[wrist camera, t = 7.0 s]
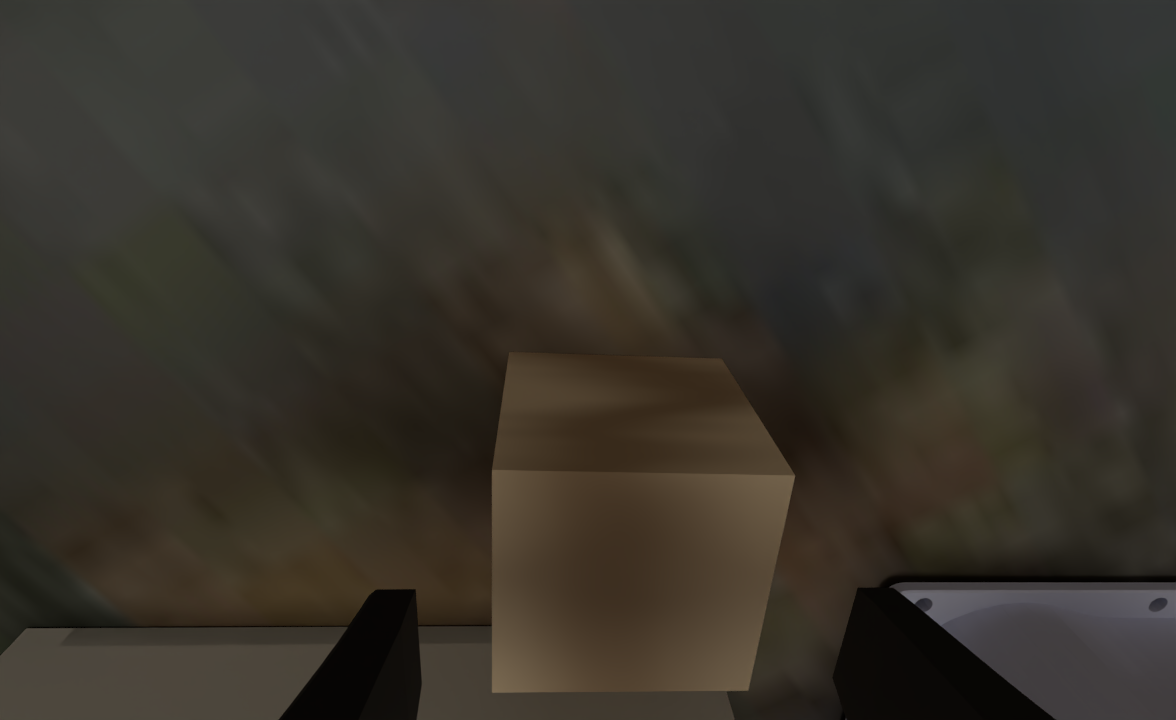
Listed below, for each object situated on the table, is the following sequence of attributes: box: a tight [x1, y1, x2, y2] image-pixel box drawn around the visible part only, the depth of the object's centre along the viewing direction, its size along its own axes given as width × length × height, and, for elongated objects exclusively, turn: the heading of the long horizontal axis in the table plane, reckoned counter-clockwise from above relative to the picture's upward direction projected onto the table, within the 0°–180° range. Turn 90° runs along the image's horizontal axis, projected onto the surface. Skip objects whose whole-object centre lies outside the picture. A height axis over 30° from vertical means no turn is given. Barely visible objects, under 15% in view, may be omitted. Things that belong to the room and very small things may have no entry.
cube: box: [492, 352, 795, 693], centre depth 14 cm, size 5×5×5 cm
